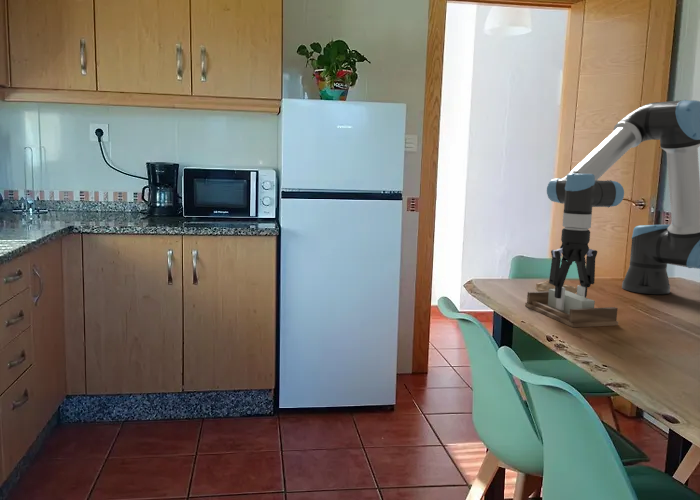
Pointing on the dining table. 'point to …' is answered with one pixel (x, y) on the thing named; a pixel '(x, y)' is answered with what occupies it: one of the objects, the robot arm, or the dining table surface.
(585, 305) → the greenware bar
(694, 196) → the robot arm
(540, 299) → the cradle rack
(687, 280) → the dining table surface
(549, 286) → the pottery oil lamp
